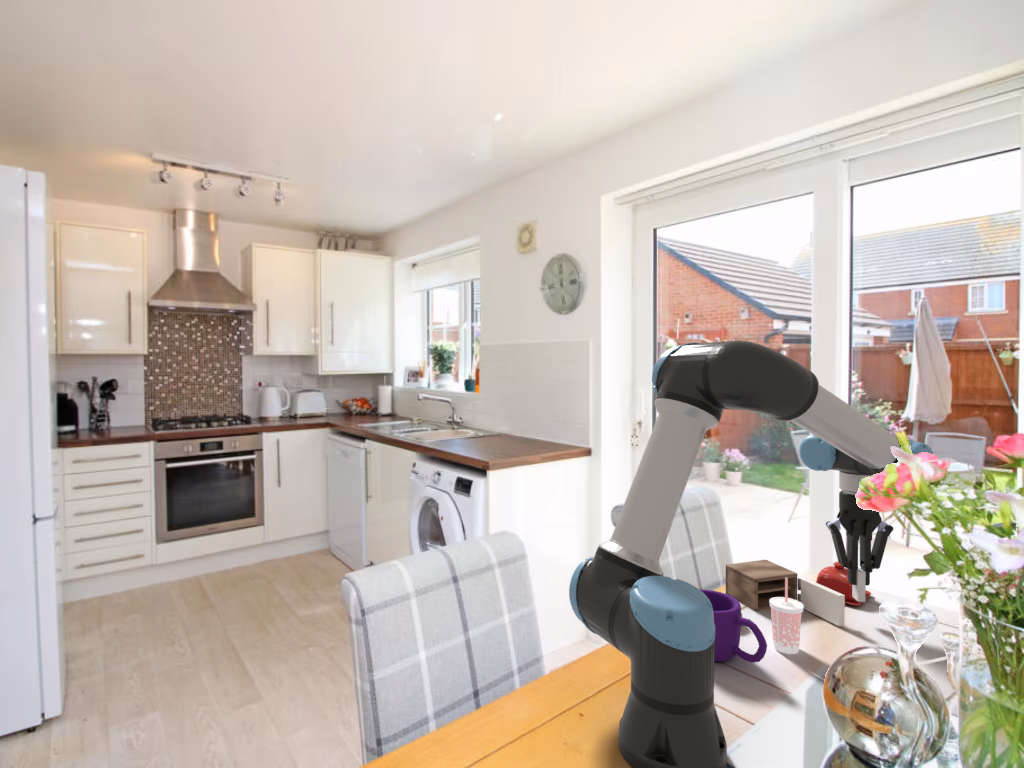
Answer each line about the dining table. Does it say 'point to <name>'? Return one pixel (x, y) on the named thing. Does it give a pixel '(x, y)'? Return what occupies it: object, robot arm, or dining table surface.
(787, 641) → the beverage cup
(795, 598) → the cabinet
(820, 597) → the door
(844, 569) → the butter dish
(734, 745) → the dining table surface
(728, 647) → the mug
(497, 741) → the dining table surface
